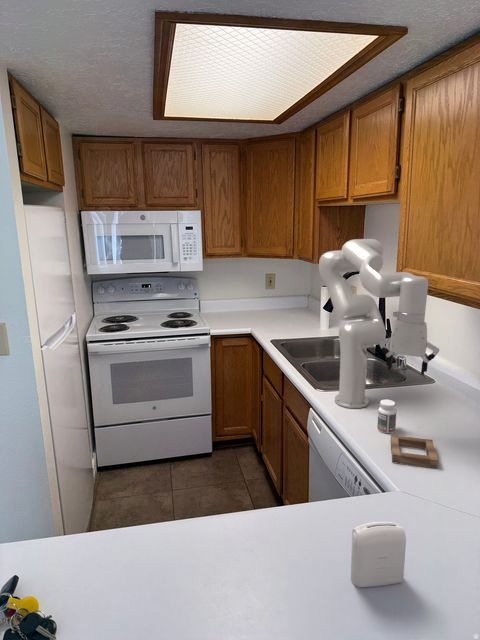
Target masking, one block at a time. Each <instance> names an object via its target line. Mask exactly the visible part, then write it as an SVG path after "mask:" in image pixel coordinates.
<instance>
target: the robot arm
mask: <svg viewBox="0 0 480 640" xmlns="http://www.w3.org/2000/svg"><path fill="white" fill-rule="evenodd" d="M383 253H384V248H383V245H382V243H381V242H380V241H379V240H378V239H375V238H356V239H350V240H348V241H346V242H345V243H344V244H343V245H342V247H341V250H340V249H339V250H330V251H326V252H325V253H322V255H321V256H320V257H319V261H318V262H319V263H318V270H319V275H320V278H321V279H322V282H323V284H324V285H325V287H326V289H327V292H328V295H329V297H330V300H331V304H332V307H333V309H334V313H335V315H336V317H337V318H338V319H339V320H340V321H343V322H345V323H344V324H342V325H341V326H339V330H338V341H339V350H340V351H339V352H340V359H339V360H340V361H339V384H338V385H339V389H338V394H336V396H334V402H335V403H336V404H337V405H338V406H340V407H343V408H346V409H361V408H365V407H367V406H368V405H369V403H370V402H369V398H368V397H367V396H365V395H366V379H367V378H366V377H367V355H366V354H365V352H364V350H363V347H364V348H365V347H369V346H370V347H371V346H376V345H377V346H378V345H379V347H380V349H381V351H382V352H383V354H384V355H385V357H386V367H387V370H392V367H393V359H394V356H393V355H395V354H396V355H403V356H409V357H417V358H421V359H422V362H421V371H420V375H422V376H424V375H425V372H426V373H427V372H428V363H429V362H431V361H432V360H433V359H434V358H435V357H436V356H437V355H438V354H439V352H440V348H439V347H437V346H436V345H434V344H432V343H431V342H429V341H428V326H427V322H426V321H425V318H426V307H427V301H428V300H427V299H428V298H427V297H428V291H429V290H428V288H429V280H428V279H427V278H426V277H424V276H418V275H414V274H412V273H411V272H408V271H402V272H400V271H399V272H396V271H395V272H384V273H383V272H382V273H381V272H380V271H381V270H382V268H383V265H384V258H383ZM350 272H351V273H352V272H359V275H358V276H359V281H360V284H361V286H362V287H363V288H364V289H365V290H366V291H367V292H368V293H369V294H371V295H372V296H374V297H376V298H380V299H381V298H382V299H383V298H384V299H385V298H395V297H399V301H398V310H397V311H393V313H392V317H395V318H396V319H395V320H394V322H393V325H392V331H391V336H390V337H388V338H386V336H387V331H386V327H385V324H384V321H383V317H382V315H381V312H380V310H379V306H378V304H377V302H376V300H375V298H373V297H372V296H371V295H369V294H355V293H354V292H353V290H352V287H351V284H350V283H349V281H348V280H347V279H346V278H345V277H344V276H343V275H342V274H341V273H350ZM356 320H357V321H356ZM346 321H350V322H346ZM386 344H389V349H388V347H387V346H386ZM427 349H429V350H430V351H432V352H431V353H430V354H429V355H428V354H427Z"/></svg>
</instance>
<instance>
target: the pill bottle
mask: <svg viewBox="0 0 480 640" xmlns="http://www.w3.org/2000/svg"><path fill="white" fill-rule="evenodd" d="M377 411H378V412H377V425H376V426H377V431H378V432H380V431H381V432H380V433H382V432H383V434H387V433H390V434H393V433H395V432H396V429H397V428H396V427H397V409H396V402H395V401H394V400H391V399H381V400H380V401H379V407H378V410H377Z"/></svg>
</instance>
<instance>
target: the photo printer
mask: <svg viewBox="0 0 480 640" xmlns="http://www.w3.org/2000/svg"><path fill="white" fill-rule="evenodd" d="M406 545H407V538H406V531H405V529H404V528H403V526H402V524H400V523H398V522H392V521H373V522H368V523H364V524H360V525H358V526H356V527H354V528H353V529H352V533H351V557H350V558H351V560H350V580H351V582H352V584H354V586H356V587H357V588H369V587H370V588H371V587H379V586H380V587H381V586H389V585H394V584H399V583H402V582H403V581H404V575H405V574H404V573H405V562H406V561H405V560H406V547H407V546H406Z"/></svg>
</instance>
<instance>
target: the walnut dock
mask: <svg viewBox="0 0 480 640" xmlns="http://www.w3.org/2000/svg"><path fill="white" fill-rule="evenodd" d="M389 441H390V442H389V443H390V450H391V454H392V455H391V462H392V463H393V462H397V463H396V464H400V463H402V464H401V465H407V464H408V465H409V466H415V467H424V468H431V469H438V466H439V465H438V464H439V459H438V456H437V452H436V447H435V444H434V442H433V439H430V438H429V439H428V438H420V437H411V436H403V435H394V434H391V435H390V440H389ZM400 447H401V448H409V449H417V450H424V451H425V453H426V455H425V454H417V453H409V452H403V451H402V452H400Z"/></svg>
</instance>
